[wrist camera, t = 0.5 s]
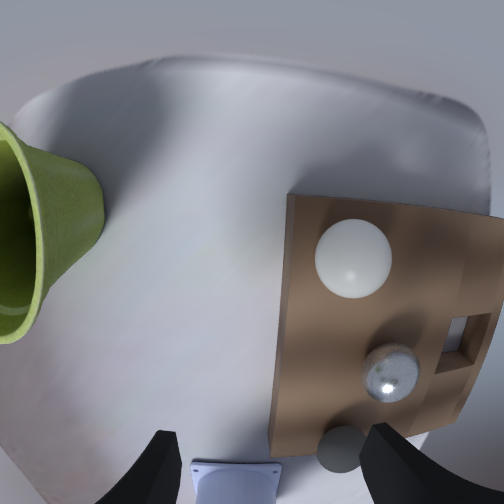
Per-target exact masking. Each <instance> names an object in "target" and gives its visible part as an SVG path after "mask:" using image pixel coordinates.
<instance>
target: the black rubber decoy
mask: <svg viewBox="0 0 504 504" xmlns="http://www.w3.org/2000/svg"><path fill="white" fill-rule="evenodd" d="M366 438H367V437H366V436H365V434H364V433H363V432H362V431H361V430H359V429H358V428H356V427H353V426H338V427H335V428H333V429H331V430H329V431H328V432H327V433H325V434H324V436H323V437H322V438H321V440H320V441H319V444H318V447H317V457H318V460H319V462H320V463H321V465H322V466H323V467H324V468H325V469H327V470H329V471H331V472H335V473H346V472H350V471H352V470H354V469H356V468H357V467H359V466H360V460H359V454H360V452H361V450H362V448H363V445H364V443H365V440H366Z"/></svg>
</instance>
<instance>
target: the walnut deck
mask: <svg viewBox="0 0 504 504" xmlns="http://www.w3.org/2000/svg"><path fill="white" fill-rule="evenodd" d="M348 219H359V220H364V221H367V222H369V223H371V224H373V225H375V226H376V227H377V228H378V229H380V230H381V231H382V233H383V234H384V235H385V237H386V238H387V240H388V242H389V245H390V248H391V253H392V265H391V269H390V272H389V275H388V277H387V279H386V280H385V282H384V283H383V285H382V286H381V287H380V288H379V289H378V290H376V291H375V292H373V293H372V294H370V295H368V296H365V297H361V298H345V297H342V296H339V295H337V294H335V293H333V292H332V291H330V290H329V289H328V288H327V287H326V286H325V285H324V284H323V283H322V281H321V279H320V278H319V276H318V273H317V270H316V266H315V252H316V248H317V245H318V242H319V240H320V238H321V237H322V235H323V234H324V233H325V232H326V230H327V229H329V228H330V227H331V226H332V225H334V224H336V223H338V222H340V221H343V220H348ZM503 301H504V219H502V218H498V217H493V216H487V215H481V214H475V213H468V212H462V211H455V210H448V209H441V208H434V207H426V206H418V205H410V204H401V203H392V202H383V201H373V200H362V199H351V198H339V197H325V196H311V195H294V194H287V207H286V225H285V243H284V259H283V274H282V288H281V301H280V314H279V327H278V338H277V350H276V361H275V372H274V382H273V392H272V402H271V411H270V420H269V429H268V441H269V449H270V458H275V457H293V456H305V455H315V454H317V447H318V444H319V441H320V440H321V438H322V437H323V436H324V434H325V433H327V432H328V431H329V430H331V429H333V428H335V427H338V426H353V427H356V428H358V429H359V430H361V431H362V432H363V433H364V434H365V436H366V437H367V436H368V433H369V431H370V428H371V426H372V425H373V424H378V423H384V422H386V423H387V424H389V425H390V426H391V427H392V428H393V429H394V430H396V431H397V432H398V433H399V434H400V435H401V436H402V437H404V438H407V437H411V436H415V435H418V434H422V433H425V432H428V431H431V430H434V429H438V428H440V427H444V426H447V425H449V424H452V423H455V421H456V419H457V418H458V416H459V414H460V412H461V410H462V408H463V406H464V404H465V402H466V400H467V398H468V396H469V394H470V392H471V390H472V388H473V385H474V383H475V381H476V379H477V376H478V374H479V371H480V369H481V367H482V364H483V362H484V359H485V357H486V354H487V351H488V349H489V346H490V343H491V340H492V337H493V334H494V331H495V328H496V325H497V322H498V319H499V315H500V312H501V308H502V305H503ZM464 316H468V320H467V323H466V327H465V330H464V333H463V336H462V340H461V343H460V346H459V349H458V350H457V351H452V352H447V353H442V350H443V347H444V344H445V341H446V337H447V334H448V331H449V327H450V324H451V320H452V318H456V317H464ZM390 342H396V343H401V344H404V345H406V346H408V347H410V348H411V349H412V350H413V351H414V352H415V354H416V355H417V357H418V359H419V362H420V377H419V380H418V383H417V385H416V387H415V388H414V390H413V391H412V392H411V393H410V394H409V395H408V396H406V397H405V398H403V399H401V400H399V401H396V402H391V403H385V402H380V401H377V400H375V399H373V398H372V397H370V396H369V395H368V394H367V392H366V391H365V389H364V387H363V385H362V381H361V370H362V366H363V363H364V361H365V359H366V357H367V356H368V355H369V353H370V352H371V351H373V350H374V349H375V348H377V347H378V346H380V345H382V344H385V343H390ZM441 353H442V354H441Z"/></svg>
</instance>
